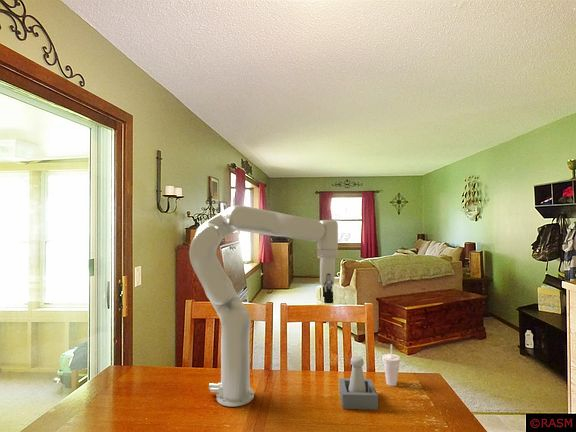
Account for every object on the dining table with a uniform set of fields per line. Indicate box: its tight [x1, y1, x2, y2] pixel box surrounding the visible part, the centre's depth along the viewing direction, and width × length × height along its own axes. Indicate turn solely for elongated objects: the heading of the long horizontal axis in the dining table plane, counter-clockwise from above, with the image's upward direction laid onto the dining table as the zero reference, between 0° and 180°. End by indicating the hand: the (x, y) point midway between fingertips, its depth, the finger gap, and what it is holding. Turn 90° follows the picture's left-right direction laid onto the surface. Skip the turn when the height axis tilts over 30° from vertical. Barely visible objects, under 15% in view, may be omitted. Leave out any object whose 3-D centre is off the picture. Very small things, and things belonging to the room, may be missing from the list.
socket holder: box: [338, 377, 379, 410], centre depth 115 cm, size 11×11×4 cm
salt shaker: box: [348, 355, 366, 393], centre depth 115 cm, size 6×6×13 cm
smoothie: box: [381, 343, 401, 387], centre depth 126 cm, size 6×6×14 cm
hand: (327, 299), depth 128 cm, fingers open, 9 cm apart
